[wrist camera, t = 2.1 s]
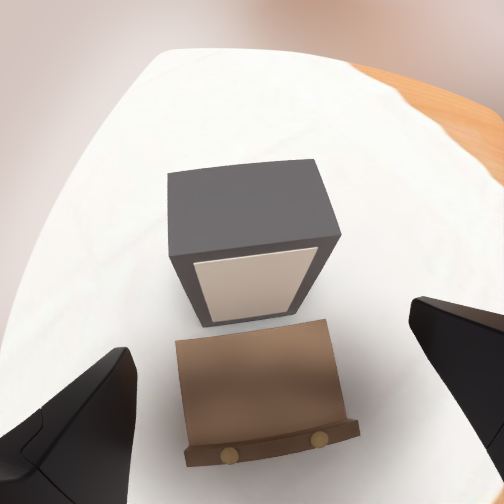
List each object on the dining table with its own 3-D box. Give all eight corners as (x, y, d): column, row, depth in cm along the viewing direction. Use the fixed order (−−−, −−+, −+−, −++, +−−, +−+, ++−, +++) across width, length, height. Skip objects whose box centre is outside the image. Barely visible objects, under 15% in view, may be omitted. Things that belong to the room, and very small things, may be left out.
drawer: (343, 431, 17) (362, 435, 14) (195, 456, 16) (186, 468, 13) (321, 323, 21) (335, 308, 18) (178, 344, 20) (167, 333, 17)
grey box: (295, 314, 21) (341, 235, 11) (203, 327, 21) (168, 257, 11) (283, 262, 23) (313, 158, 13) (197, 273, 22) (167, 172, 13)
